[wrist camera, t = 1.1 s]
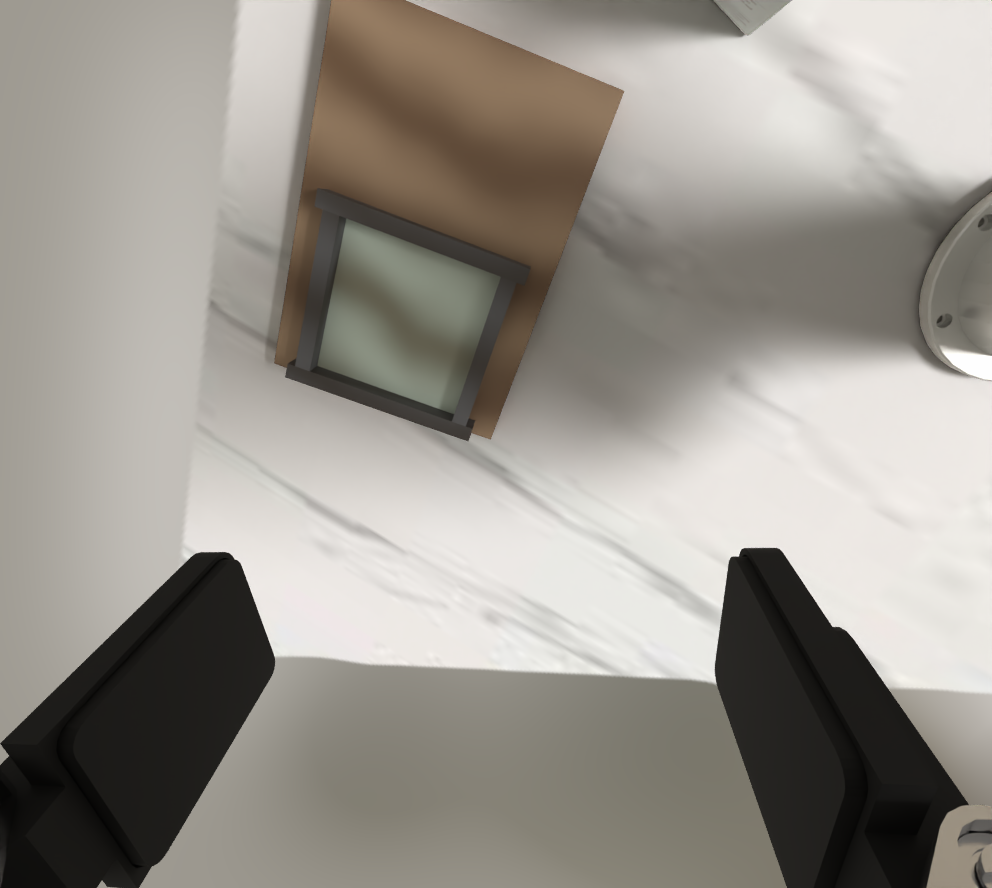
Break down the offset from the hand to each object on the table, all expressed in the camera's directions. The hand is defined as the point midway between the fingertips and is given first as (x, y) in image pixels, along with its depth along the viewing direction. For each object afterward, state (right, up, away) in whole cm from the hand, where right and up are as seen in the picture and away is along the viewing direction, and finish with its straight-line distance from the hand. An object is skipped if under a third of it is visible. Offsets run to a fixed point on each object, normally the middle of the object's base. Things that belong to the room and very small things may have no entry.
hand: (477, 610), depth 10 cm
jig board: (-4, +16, +23) cm, 28 cm away
